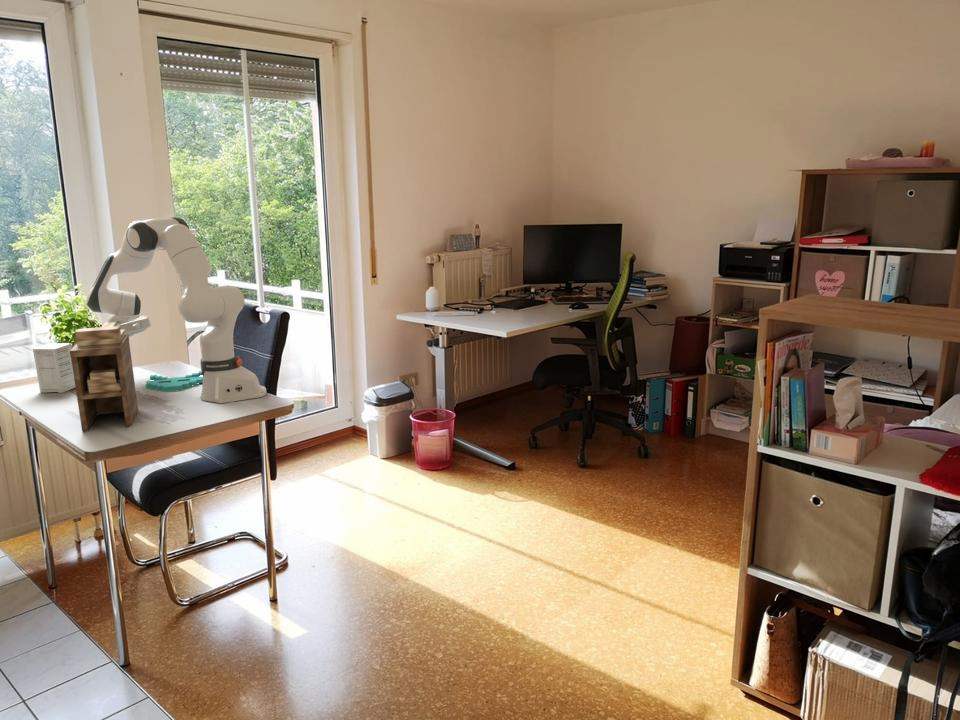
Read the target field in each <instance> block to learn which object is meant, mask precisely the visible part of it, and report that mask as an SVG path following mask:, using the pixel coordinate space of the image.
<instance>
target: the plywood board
mask: <svg viewBox="0 0 960 720" xmlns="http://www.w3.org/2000/svg"><path fill="white" fill-rule="evenodd" d="M74 333H75V340H76V344H77V346H86V345H99V344H112V343H120V342H121V340H122V339H123V337H124V336H125V334H126V333H125V329H124V330H120V326H117V324H116V322H108V321H107V322H104V323H103V325H102V326H101V327H87V328H85V327H84V328H77V330H75V332H74Z"/></svg>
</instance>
